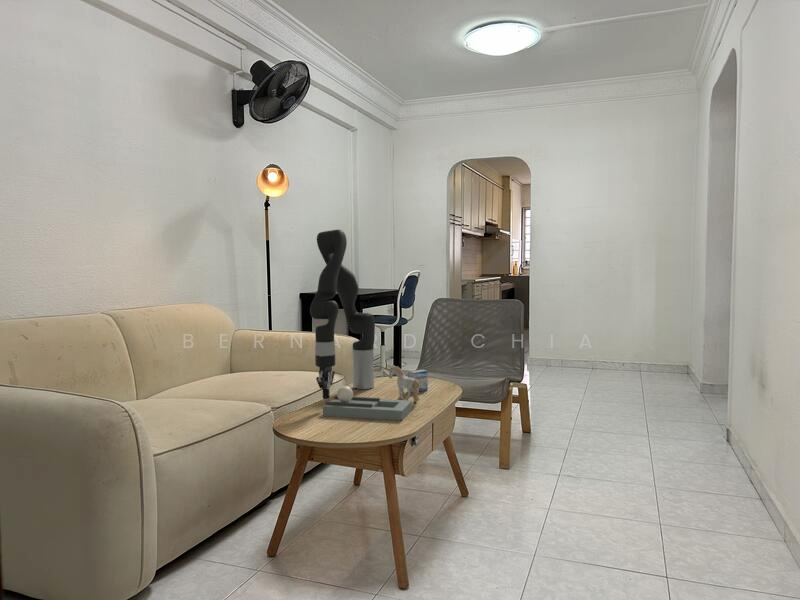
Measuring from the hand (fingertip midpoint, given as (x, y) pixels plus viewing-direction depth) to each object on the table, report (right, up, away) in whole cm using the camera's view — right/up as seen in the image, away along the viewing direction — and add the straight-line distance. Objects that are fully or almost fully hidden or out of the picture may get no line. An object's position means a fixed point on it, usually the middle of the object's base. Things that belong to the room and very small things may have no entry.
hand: (326, 398), depth 221 cm
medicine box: (+36, -2, +31) cm, 47 cm away
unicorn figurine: (+28, -4, +13) cm, 31 cm away
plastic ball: (+7, +2, -2) cm, 8 cm away
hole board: (+16, -5, -4) cm, 17 cm away
